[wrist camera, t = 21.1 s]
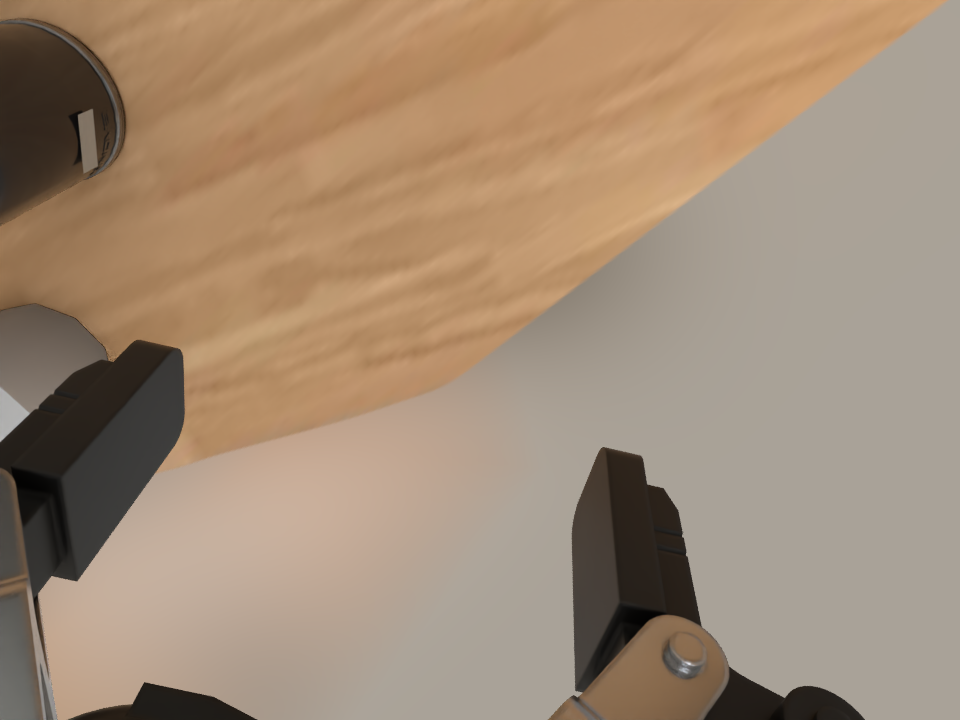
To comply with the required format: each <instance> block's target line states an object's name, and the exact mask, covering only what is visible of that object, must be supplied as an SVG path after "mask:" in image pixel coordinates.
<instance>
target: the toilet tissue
mask: <svg viewBox="0 0 960 720" xmlns="http://www.w3.org/2000/svg"><path fill="white" fill-rule="evenodd" d="M101 359H102V360H107V361H108V358H107V355H106V351H105V348H104V347H103V346H102V345H101V344H100V343H99V342H98V341H97V340H96V339H95V338H94V337H93V336H92V335H91V334H90V333H89V332H88V331H87V330H86V329H85V328H84V327H83V326H82V325H81V324H80V323H79V322H78V321H77V320H76V319H75V318H73V317H70V316H67V315H65V314H62V313H59V312H57V311H54V310H51V309H49V308H46V307H43V306H41V305H38V304H30V305H25V306H20V307H15V308H10V309H5V310H2V311H0V442H1V441H2V440H3V439H4V438H5V437H6V436H7V435H8V434H9V433H10V432H11V431H12V430H13V429H14V428H15V427H16V426H18V425H19V424H20V423H21V422H22V421H23V420H24V419H25V418H26V417H27V416H28V415H29V414H30V413H31V412H32V411H33V410H34V409H38V408H39V405H40V404H41V403H42V402H43V401H44V400H45V399H46V398H47V397H48V396H49V395H50V394H54V390H55V389H56V388H58V387H59V386H60V385H61V384H62V383H63V382H64V381H65V380H66V379H67V378H68V377H69V376H70V375H71V374H72V373H73V372H75V371H77V370H80V369H82V368H84V367H86V366H88V365H90V364H92V363H94V362H97V361H99V360H101Z"/></svg>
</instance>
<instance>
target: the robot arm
mask: <svg viewBox="0 0 960 720" xmlns="http://www.w3.org/2000/svg"><path fill="white" fill-rule="evenodd" d="M124 134H125V119H124V112H123V107H122V103H121V100H120V97H119V94H118V92H117V89H116V87H115V85H114V83H113V81H112V79H111V78H110V76H109V74H108V73H107V71H106V70H105V68H104V67H103V66H102V64H101V63H100V62H99V60H98V59H97V58H96V57H95V56H94V55H93V54H92V53H91V52H90V51H89V50H88V49H87V48H86V47H85V46H84V45H83V44H82V43H80V42H79V41H78V40H77V39H75V38H74V37H72V36H71V35H69V34H68V33H66V32H65V31H63V30H61V29H59V28H57V27H55V26H53V25H50V24H47V23H45V22H41V21H37V20H31V19H11V20H6V21H1V22H0V226H2V225H4V224H6V223H7V222H9V221H11V220H13V219H15V218H16V217H18V216H20V215H22V214H24V213H25V212H27V211H29V210H31V209H32V208H34V207H36V206H38V205H40V204H41V203H43V202H45V201H47V200H49V199H50V198H52V197H54V196H56V195H57V194H59V193H61V192H63V191H65V190H67V189H68V188H70V187H72V186H74V185H75V184H77V183H79V182H81V181H82V180H86V179H88V178H91V177H93V176H95V175H96V174H98V173H100V172H102V171H103V170H105V169H106V168H107V167H109V166H110V165H111V164H112V163H113V161H114V160H115V159H116V157H117V156H118V154H119V152H120V150H121V147H122V144H123V140H124ZM184 414H185V408H184V368H183V355H182V352H181V350H180V349H178V348H173V347H169V346H164V345H160V344H156V343H151V342H147V341H143V340H136V341H134V342H133V343H132V344H131V345H130V346H129V347H128V348H127V349H126V350H125V351H124V352H123V353H122V354H121V355H120V356H119V357H118V358H117V359H116V360H115V361H114V362H111V361H107V360H102V359H101V360H99V361H97V362H94V363H92V364H90V365H88V366H86V367H84V368H82V369H80V370H77V371H75V372H73V373H72V374H71V375H70V376H69V377H68V378H67V379H66V380H65V381H64V382H63V383H62V384H61V385H60V386H59V387H58V388H56V389H55V390H54V394H50V395H49V396H48V397H47V398H46V399H45V400H44V401H43V402H42V403H41V404H40V405H39V408H38V409H34V410H33V411H32V412H31V413H30V414H29V415H28V416H27V417H26V418H25V419H24V420H23V421H22V422H21V423H20V424H19V425H18V426H16V427H15V428H14V429H13V430H12V431H11V432H10V433H9V434H8V435H7V436H6V437H5V438H4V439H3V440H2V441H1V442H0V720H57V714H56V709H55V703H54V697H53V690H52V683H51V676H50V669H49V662H48V655H47V647H46V641H45V633H44V627H43V620H42V612H41V605H40V599H39V594H38V593H39V592H40V590H41V589H42V588H43V586H44V585H45V584H46V582H47V581H48V580H49V578H50V577H51V576H54V577H59V578H63V579H68V580H73V581H78V579H79V578H80V577H81V575H82V574H83V572H84V571H85V570H86V568H87V567H88V566H89V564H90V563H91V561H92V560H93V558H94V557H95V556H96V554H97V553H98V552H99V550H100V549H101V547H102V546H103V545H104V543H105V542H106V540H107V539H108V538H109V536H110V535H111V533H112V532H113V531H114V529H115V528H116V526H117V525H118V524H119V522H120V521H121V520H122V518H123V517H124V515H125V514H126V513H127V511H128V509H129V508H130V507H131V506H132V504H133V503H134V501H135V500H136V499H137V497H138V496H139V494H140V493H141V492H142V490H143V489H144V488H145V486H146V484H147V483H148V482H149V481H150V479H151V478H152V476H153V475H154V474H155V472H156V471H157V469H158V468H159V467H160V465H161V464H162V462H163V461H164V460H165V458H166V457H167V455H168V454H169V453H170V451H171V450H172V449H173V447H174V446H175V444H176V442H177V440H178V438H179V436H180V433H181V430H182V427H183V422H184ZM682 534H683V533H682V527H681V523H680V517H679V512H678V510H677V508H676V507H675V505H674V504H673V502H672V501H671V499H670V498H669V496H668V495H667V493H666V492H665V490H664V488H660V487H655V486H651V485H647V481H646V476H645V469H644V462H643V458H642V457H641V456H640V455H635V454H631V453H627V452H623V451H618V450H614V449H609V448H605V447H603V448H601V449H600V451H599V453H598V455H597V457H596V460H595V462H594V465H593V467H592V470H591V472H590V475H589V477H588V479H587V482H586V484H585V487H584V489H583V492H582V494H581V497H580V499H579V502H578V504H577V507H576V511H575V515H574V520H573V527H572V560H573V561H572V562H573V563H572V564H573V605H574V606H573V607H574V608H573V609H574V651H575V690H576V691H579V692H583V693H582V694H581V695H580V696H579V697H578V698H577V697H576V696H574V695H573V696H571V697H570V698H569V699H567V700H566V701H565V702H564V703H563V704H562V705H561V706H560V707H559V708H558V710H557V711H556V712H555V713H554V714H553V715H552V716H551V718H549V719H548V720H865V719H864V718H863V717H862V716H861V715H860V714H859V712H857V711H856V710H855V709H854V708H853V707H852V706H851V705H850V704H848V703H847V702H846V701H845V700H843V699H842V698H840V697H839V696H837V695H835V694H834V693H831V692H829V691H827V690H825V689H822V688H818V687H813V686H803V687H798V688H796V689H793V690H792V691H791V692H790V693H789V694H788V695H787V696H786V697H785V698H783V697H782V696H780V695H777V694H776V693H774V692H772V691H770V690H768V689H766V688H764V687H763V686H761V685H759V684H757V683H755V682H753V681H751V680H749V679H747V678H745V677H744V676H742V675H740V674H739V673H737V672H736V671H734V670H733V669H732V668H730V667H729V665H728V661H727V658H726V656H725V654H724V652H723V650H722V648H721V647H720V645H719V644H718V642H717V641H716V640H715V639H714V638H713V637H712V636H711V634H709V633H708V632H707V631H706V630H705V629H703V628H702V626H701V622H700V616H699V611H698V606H697V602H696V596H695V592H694V587H693V582H692V577H691V572H690V567H689V562H688V557H687V556H686V547H685V542H684V538H682ZM68 720H257V719H254V718H253V717H251V716H249V715H247V714H245V713H243V712H241V711H239V710H237V709H236V708H234V707H232V706H230V705H228V704H226V703H224V702H222V701H220V700H218V699H217V698H215V697H211V696H207V695H202V694H197V693H192V692H188V691H183V690H178V689H173V688H169V687H164V686H159V685H155V684H150V683H145V682H144V684H143V686H142V687H141V689H140V691H139V693H138V695H137V697H136V699H135V701H134V702H133V704H131V705H121V706H114V707H108V708H103V709H99V710H96V711H92V712H88V713H85V714H82V715H79V716H76V717H74V718H71V719H68Z"/></svg>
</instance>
